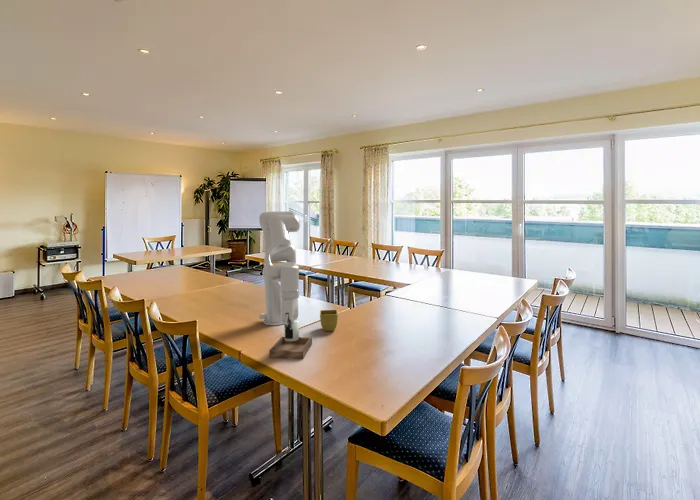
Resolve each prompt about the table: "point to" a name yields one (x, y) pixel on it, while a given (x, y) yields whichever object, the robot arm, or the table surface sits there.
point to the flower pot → (328, 319)
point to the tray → (291, 348)
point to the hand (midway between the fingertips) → (291, 335)
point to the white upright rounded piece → (295, 331)
